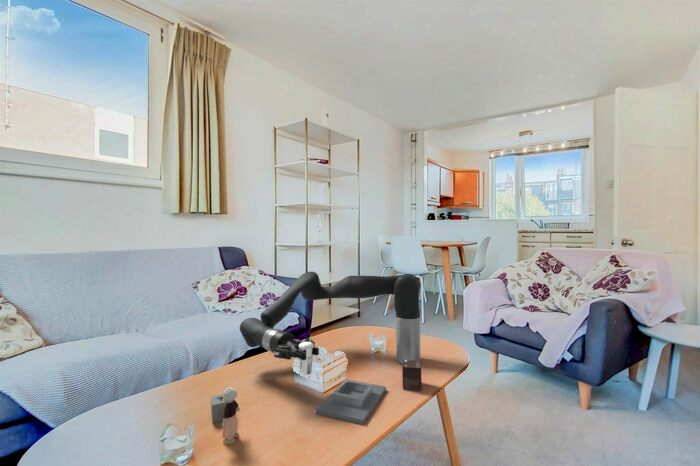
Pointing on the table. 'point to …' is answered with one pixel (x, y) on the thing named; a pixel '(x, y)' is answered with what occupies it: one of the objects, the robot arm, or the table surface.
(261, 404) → the table surface
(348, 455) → the table surface
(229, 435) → the grandmother figurine
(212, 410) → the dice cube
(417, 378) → the box
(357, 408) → the dock
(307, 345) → the milkshake
